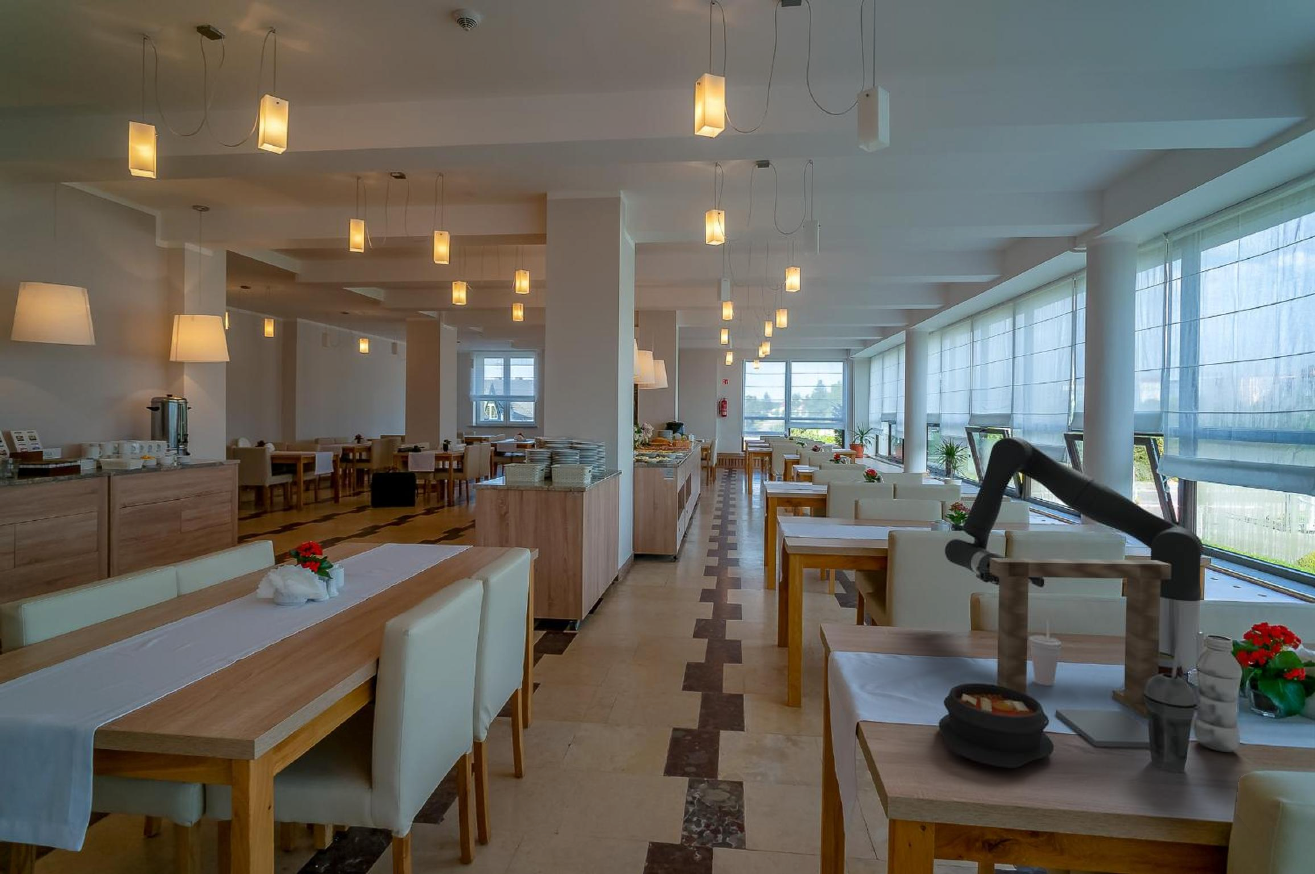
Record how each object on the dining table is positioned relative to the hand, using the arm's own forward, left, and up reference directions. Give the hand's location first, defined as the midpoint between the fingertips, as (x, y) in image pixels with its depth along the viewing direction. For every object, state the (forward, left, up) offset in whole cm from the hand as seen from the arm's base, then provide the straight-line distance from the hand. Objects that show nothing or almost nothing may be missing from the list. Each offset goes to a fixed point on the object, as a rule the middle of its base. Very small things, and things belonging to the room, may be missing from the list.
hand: (1024, 582), depth 158 cm
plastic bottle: (-24, +33, -20) cm, 46 cm away
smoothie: (-2, +9, -20) cm, 23 cm away
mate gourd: (-25, +7, -20) cm, 34 cm away
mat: (-8, +32, -20) cm, 38 cm away
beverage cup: (-13, +43, -20) cm, 50 cm away
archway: (-6, +21, -20) cm, 30 cm away
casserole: (+14, +44, -20) cm, 51 cm away
